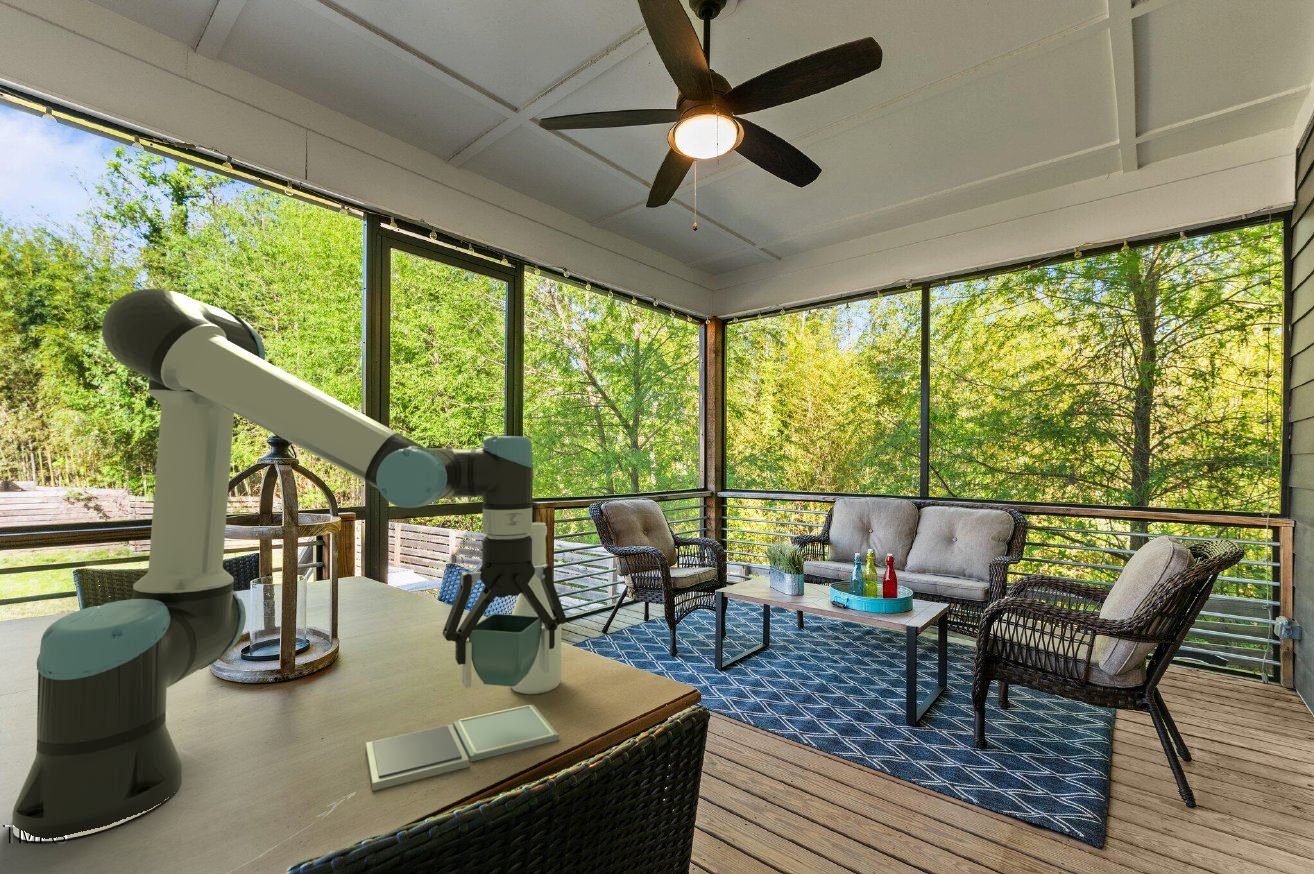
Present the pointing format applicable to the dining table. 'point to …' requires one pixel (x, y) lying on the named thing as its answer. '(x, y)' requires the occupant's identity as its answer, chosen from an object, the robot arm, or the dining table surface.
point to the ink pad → (414, 756)
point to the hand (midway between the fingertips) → (506, 677)
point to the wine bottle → (536, 677)
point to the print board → (503, 732)
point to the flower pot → (505, 647)
